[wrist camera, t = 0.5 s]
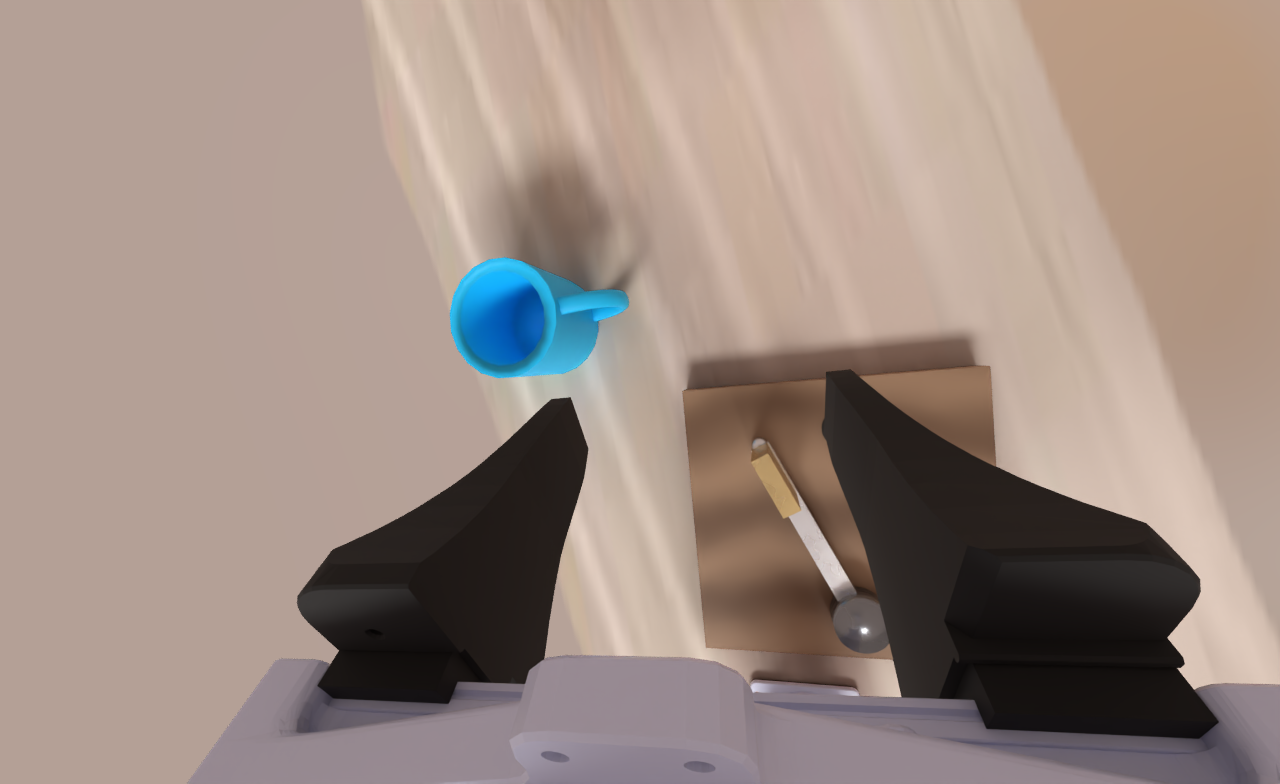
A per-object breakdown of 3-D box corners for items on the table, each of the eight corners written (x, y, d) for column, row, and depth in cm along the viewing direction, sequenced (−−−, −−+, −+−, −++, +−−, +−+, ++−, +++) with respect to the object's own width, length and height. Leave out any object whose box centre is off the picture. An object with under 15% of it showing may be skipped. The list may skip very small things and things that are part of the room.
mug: (521, 382, 40) (463, 388, 32) (502, 291, 40) (438, 275, 32) (651, 353, 37) (622, 351, 29) (631, 254, 37) (595, 225, 29)
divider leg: (895, 625, 32) (918, 670, 27) (846, 643, 33) (860, 690, 28) (778, 426, 33) (781, 437, 28) (733, 449, 34) (729, 463, 29)
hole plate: (993, 648, 32) (1008, 668, 30) (708, 632, 37) (705, 648, 35) (976, 365, 31) (990, 366, 29) (686, 389, 36) (682, 391, 34)
